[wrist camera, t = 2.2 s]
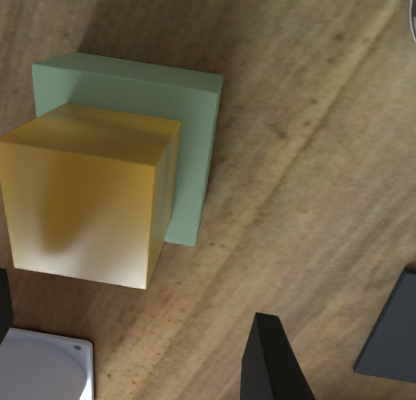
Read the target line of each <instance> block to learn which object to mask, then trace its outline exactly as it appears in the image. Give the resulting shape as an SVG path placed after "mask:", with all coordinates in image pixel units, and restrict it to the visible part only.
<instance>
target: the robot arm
mask: <svg viewBox="0 0 416 400" xmlns="http://www.w3.org/2000/svg"><path fill="white" fill-rule="evenodd" d="M13 322H14V314H13V308H12V302H11V296H10V290H9V284H8V278H7V272H6V269H4V268H0V400H94V381H93V347H92V344H91V343H90V342H89V341H87V340H81V339H75V338H69V337H63V336H58V335H52V334H46V333H40V332H34V331H28V330H22V329H16V328H10V327H11V325H12V323H13ZM240 400H316V399H315V397H314V395H313V393H312V391H311V389H310V387H309V385H308V383H307V381H306V379H305V377H304V375H303V373H302V370H301V368H300V366H299V364H298V362H297V360H296V357H295V355H294V353H293V351H292V348H291V346H290V344H289V341H288V339H287V336H286V334H285V331H284V329H283V326H282V324H281V321H280V319H279V318H278V316H275V315H269V314H263V313H257V312H256V314H255V317H254V321H253V324H252V327H251V331H250V334H249V338H248V341H247V344H246V348H245V351H244V355H243V358H242V369H241V388H240Z"/></svg>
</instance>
